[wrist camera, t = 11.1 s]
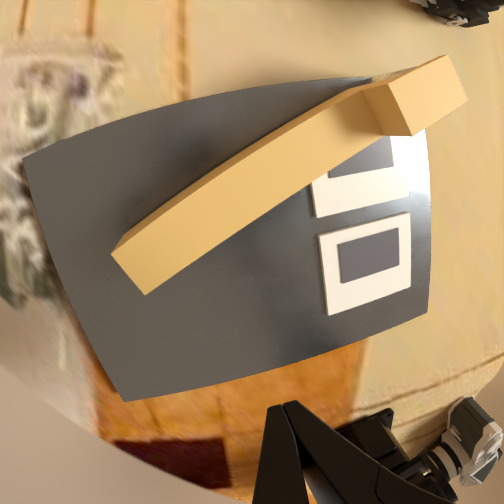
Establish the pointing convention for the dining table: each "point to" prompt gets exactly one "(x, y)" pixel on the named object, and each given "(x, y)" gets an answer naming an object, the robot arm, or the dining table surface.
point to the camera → (468, 443)
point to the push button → (462, 10)
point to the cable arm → (284, 168)
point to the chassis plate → (217, 259)
